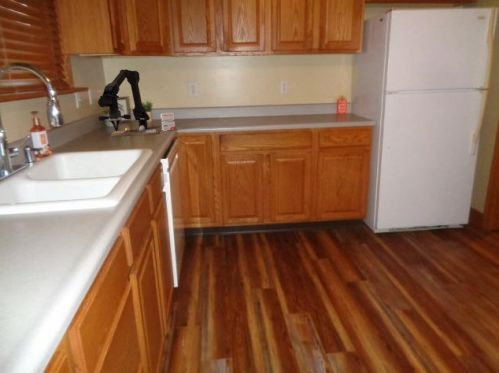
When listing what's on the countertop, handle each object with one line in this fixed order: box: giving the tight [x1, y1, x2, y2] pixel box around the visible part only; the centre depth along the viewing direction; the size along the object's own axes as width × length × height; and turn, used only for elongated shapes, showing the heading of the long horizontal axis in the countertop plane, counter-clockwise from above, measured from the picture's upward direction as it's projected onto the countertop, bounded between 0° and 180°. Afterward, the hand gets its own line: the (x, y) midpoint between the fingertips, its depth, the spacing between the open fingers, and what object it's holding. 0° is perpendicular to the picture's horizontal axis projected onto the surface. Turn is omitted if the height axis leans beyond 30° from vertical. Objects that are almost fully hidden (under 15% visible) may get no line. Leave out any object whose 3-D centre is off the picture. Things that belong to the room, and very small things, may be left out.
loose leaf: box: [112, 126, 132, 134], centre depth 242 cm, size 9×10×4 cm
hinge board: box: [110, 125, 159, 138], centre depth 243 cm, size 12×28×5 cm, turn 104°
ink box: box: [159, 112, 177, 132], centre depth 255 cm, size 8×5×12 cm, turn 114°
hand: (116, 131), depth 241 cm, fingers closed
